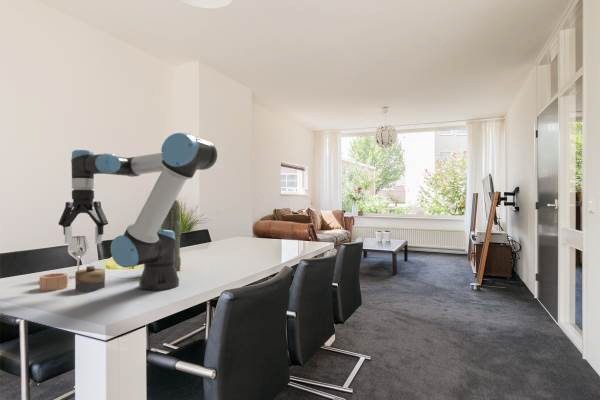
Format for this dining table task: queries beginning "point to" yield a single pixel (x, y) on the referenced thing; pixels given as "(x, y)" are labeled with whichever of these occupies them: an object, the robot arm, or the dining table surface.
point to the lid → (90, 275)
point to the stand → (90, 286)
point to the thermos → (174, 230)
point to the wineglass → (78, 249)
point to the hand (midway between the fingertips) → (83, 243)
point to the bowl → (53, 281)
